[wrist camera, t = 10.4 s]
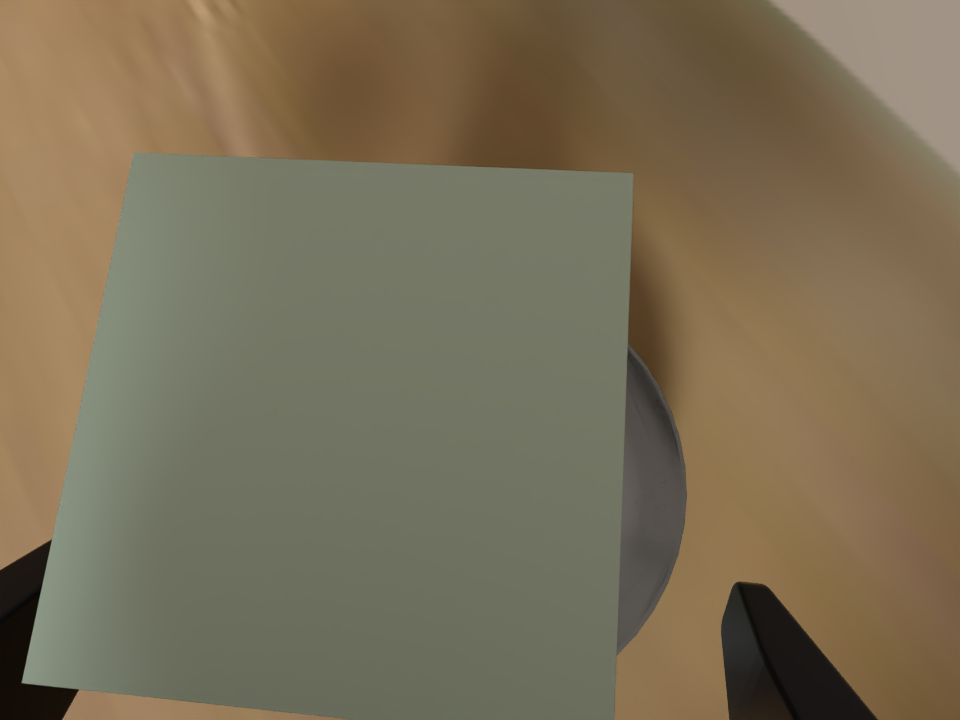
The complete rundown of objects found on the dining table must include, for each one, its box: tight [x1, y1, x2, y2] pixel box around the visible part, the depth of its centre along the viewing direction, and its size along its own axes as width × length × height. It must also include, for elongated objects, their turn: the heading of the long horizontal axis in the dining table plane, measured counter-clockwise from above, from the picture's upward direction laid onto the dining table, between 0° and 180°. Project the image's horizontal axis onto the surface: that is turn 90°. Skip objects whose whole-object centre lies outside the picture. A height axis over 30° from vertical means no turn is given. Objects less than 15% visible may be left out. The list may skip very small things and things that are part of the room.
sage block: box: [22, 153, 634, 720], centre depth 12 cm, size 5×5×12 cm
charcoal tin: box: [617, 344, 687, 655], centre depth 20 cm, size 11×11×4 cm
